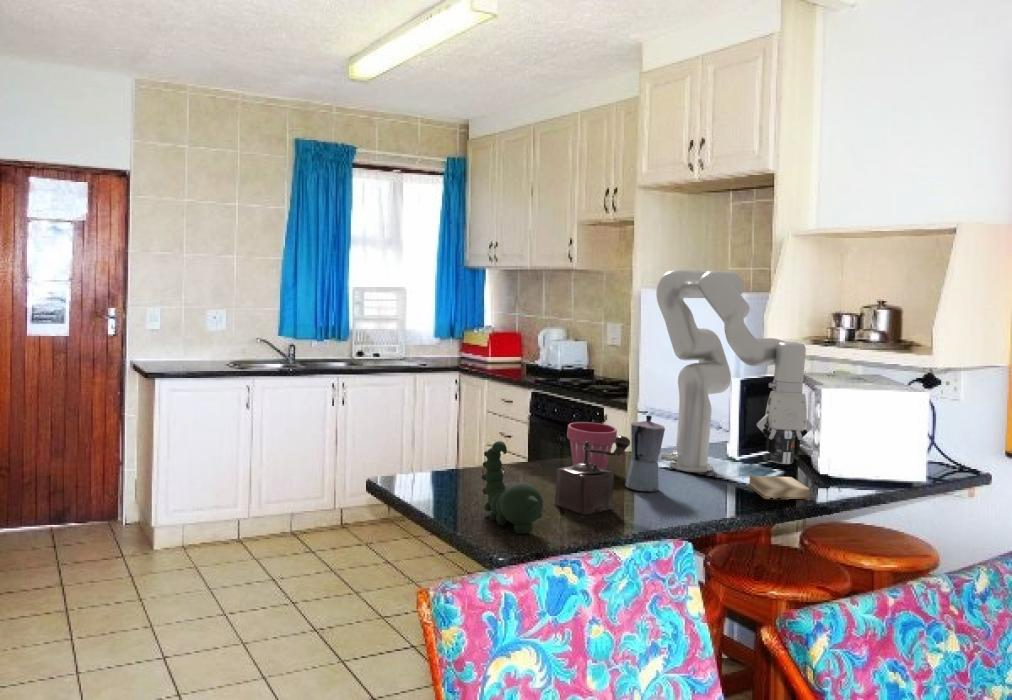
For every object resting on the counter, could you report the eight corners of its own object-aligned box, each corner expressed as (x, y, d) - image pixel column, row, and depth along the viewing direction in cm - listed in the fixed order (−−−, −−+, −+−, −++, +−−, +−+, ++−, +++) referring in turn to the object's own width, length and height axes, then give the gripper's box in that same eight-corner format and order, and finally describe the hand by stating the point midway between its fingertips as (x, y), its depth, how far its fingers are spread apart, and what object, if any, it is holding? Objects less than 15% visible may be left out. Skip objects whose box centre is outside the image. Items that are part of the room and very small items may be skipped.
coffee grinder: (584, 516, 209) (589, 442, 207) (553, 504, 218) (557, 433, 216) (629, 507, 219) (634, 436, 217) (597, 496, 228) (602, 428, 225)
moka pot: (666, 485, 242) (672, 414, 239) (651, 498, 228) (657, 423, 225) (633, 479, 246) (638, 409, 243) (616, 492, 232) (621, 418, 229)
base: (764, 498, 233) (765, 487, 233) (747, 485, 246) (748, 475, 246) (810, 500, 235) (811, 489, 234) (791, 487, 247) (791, 476, 247)
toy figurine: (471, 518, 209) (517, 543, 186) (472, 439, 208) (519, 454, 186) (507, 515, 213) (556, 539, 190) (508, 437, 212) (558, 452, 190)
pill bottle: (794, 465, 235) (797, 423, 234) (771, 463, 237) (774, 422, 235) (791, 460, 241) (795, 419, 240) (769, 458, 242) (772, 418, 241)
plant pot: (624, 473, 252) (627, 429, 251) (586, 478, 244) (589, 433, 243) (592, 462, 264) (595, 420, 263) (555, 466, 256) (557, 423, 255)
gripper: (762, 388, 232) (756, 455, 234) (824, 390, 234) (818, 457, 236) (751, 384, 240) (746, 449, 242) (812, 386, 241) (807, 450, 243)
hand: (782, 452), depth 239 cm, fingers closed on pill bottle, 6 cm apart
